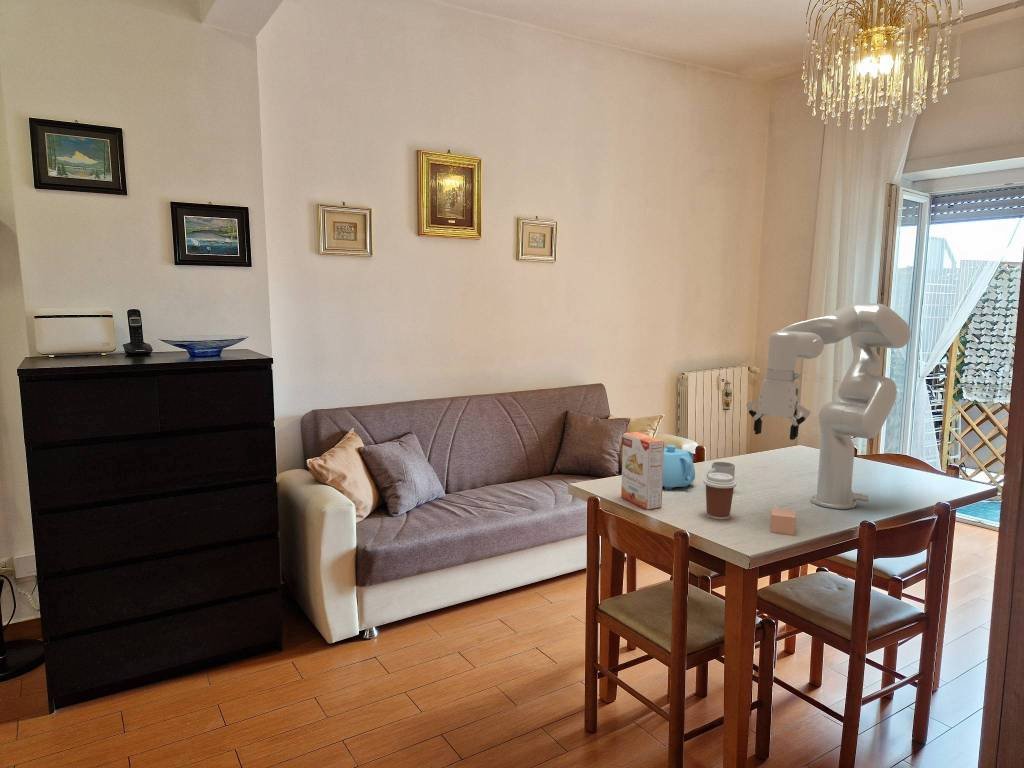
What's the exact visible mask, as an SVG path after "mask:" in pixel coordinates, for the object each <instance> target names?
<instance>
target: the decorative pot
mask: <svg viewBox="0 0 1024 768" xmlns="http://www.w3.org/2000/svg"><path fill="white" fill-rule="evenodd" d="M665 446H666V447H664V460H663V485H662V488H663V487H664V489H665V490H673V488H677V487H679V488H680V487H681V488H687V487H688V485H691V484H692V483H693V482H694V480H695V478H696V470H695V465H694V462H693V461H694V454H693V452H692V451H690V450H687V449H680V448H677V446H676V445H674V444H666V445H665Z"/></svg>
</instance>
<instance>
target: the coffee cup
mask: <svg viewBox="0 0 1024 768" xmlns="http://www.w3.org/2000/svg"><path fill="white" fill-rule="evenodd" d="M706 477H707V478H706ZM706 477H705V478H704V479H703V484H704V485H705V501H706V502H705V505H706V516H707V517H708V518H709V519H713V520H728V519H730V517H731V510H732V502H733V495H734V489H735V487H737V482H736V481H735V479H734V480H733V477H732V476H731V475H729V474H725V473H709V474H708V475H707V474H706Z"/></svg>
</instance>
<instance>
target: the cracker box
mask: <svg viewBox="0 0 1024 768" xmlns="http://www.w3.org/2000/svg"><path fill="white" fill-rule="evenodd" d="M664 448H665V441H664V440H662V439H660V438H657V437H653V436H651V435H648V434H645V433H643V432H639V431H634V432H633V431H632V432H624V433H623V434H622V455H621V457H622V460H621V461H622V462H621V492H620V493H621V495H620V496H621V498H623V499H625V500H627V501H628V502H630V503H633V504H634V505H636V506H638V507H640V508H642V509H644V510H646V511H647V510H648V511H649V510H655V509H661V508H662V507H663V506H662V505H663V504H662V503H663V486H662V485H663V460H664Z"/></svg>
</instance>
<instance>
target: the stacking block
mask: <svg viewBox="0 0 1024 768" xmlns="http://www.w3.org/2000/svg"><path fill="white" fill-rule="evenodd" d="M796 517H797V516H796V512H795V510H788V509H779V508H771V509H770V519H769V529H770V533H774V534H780V535H789V536H795V534H796V522H797V519H796Z"/></svg>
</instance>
